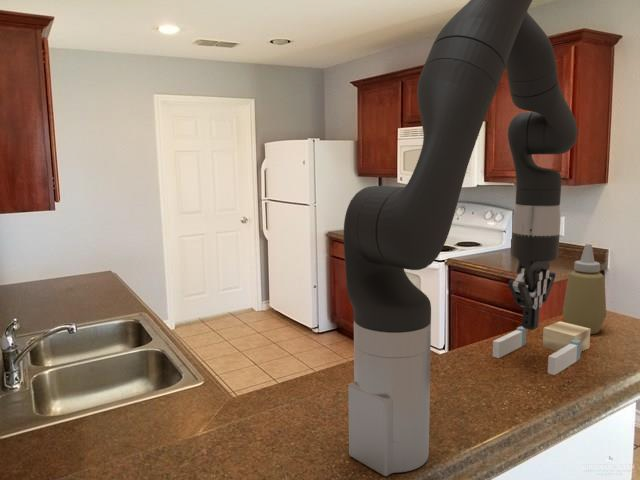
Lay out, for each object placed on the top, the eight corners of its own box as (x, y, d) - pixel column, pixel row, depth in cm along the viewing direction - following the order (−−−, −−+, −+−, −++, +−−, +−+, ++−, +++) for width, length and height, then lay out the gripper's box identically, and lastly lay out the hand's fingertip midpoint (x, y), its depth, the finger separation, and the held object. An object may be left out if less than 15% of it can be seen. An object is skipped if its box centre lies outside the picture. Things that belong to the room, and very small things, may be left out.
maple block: (573, 356, 95) (574, 336, 95) (542, 347, 100) (543, 327, 99) (589, 349, 99) (590, 328, 98) (558, 340, 103) (559, 321, 103)
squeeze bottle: (594, 339, 103) (600, 250, 100) (554, 329, 109) (559, 244, 106) (611, 330, 108) (618, 244, 105) (572, 321, 114) (577, 240, 111)
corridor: (554, 375, 87) (555, 355, 87) (492, 356, 96) (493, 338, 95) (580, 359, 94) (581, 340, 93) (519, 342, 102) (520, 326, 101)
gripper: (538, 237, 82) (532, 342, 85) (574, 229, 91) (567, 325, 94) (495, 232, 88) (490, 331, 91) (532, 225, 97) (527, 316, 99)
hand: (530, 328), depth 92 cm, fingers closed
